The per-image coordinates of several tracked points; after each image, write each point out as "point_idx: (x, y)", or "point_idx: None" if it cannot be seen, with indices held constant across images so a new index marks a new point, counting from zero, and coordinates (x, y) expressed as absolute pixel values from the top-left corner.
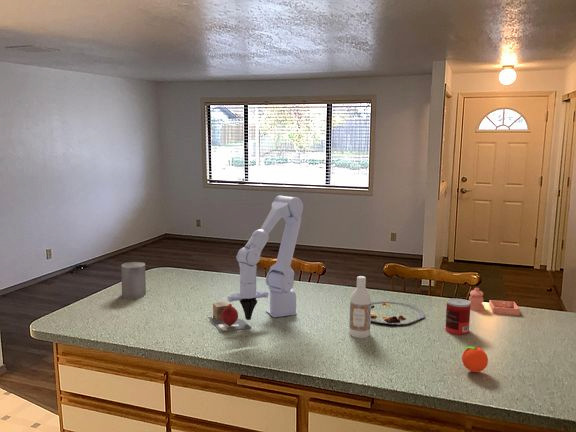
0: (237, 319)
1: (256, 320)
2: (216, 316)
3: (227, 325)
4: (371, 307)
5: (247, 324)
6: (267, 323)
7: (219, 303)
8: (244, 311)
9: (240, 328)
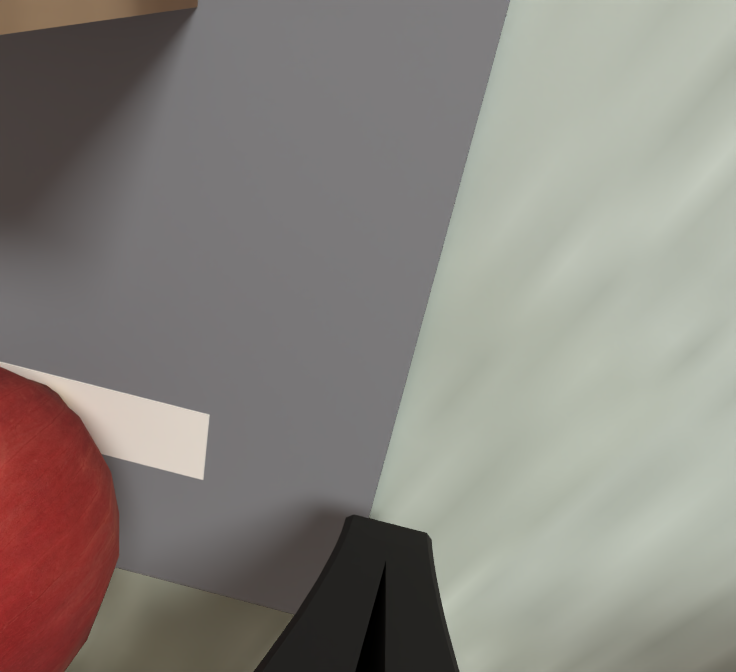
0: (333, 177)
1: (664, 430)
2: None
3: (15, 354)
4: None
5: (358, 514)
6: (696, 634)
7: None
8: (294, 641)
9: (171, 570)
